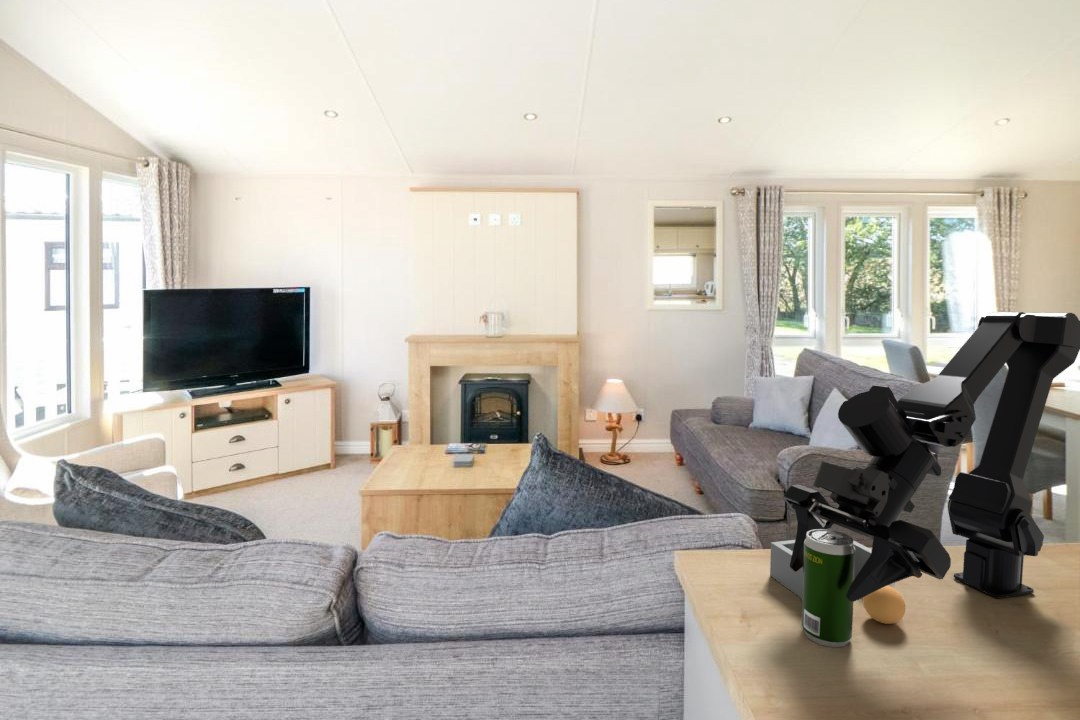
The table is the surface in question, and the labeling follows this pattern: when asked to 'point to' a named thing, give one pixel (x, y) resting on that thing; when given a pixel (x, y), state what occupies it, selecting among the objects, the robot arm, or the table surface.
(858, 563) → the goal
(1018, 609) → the table surface
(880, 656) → the table surface
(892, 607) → the ball
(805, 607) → the beer can
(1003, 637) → the table surface
